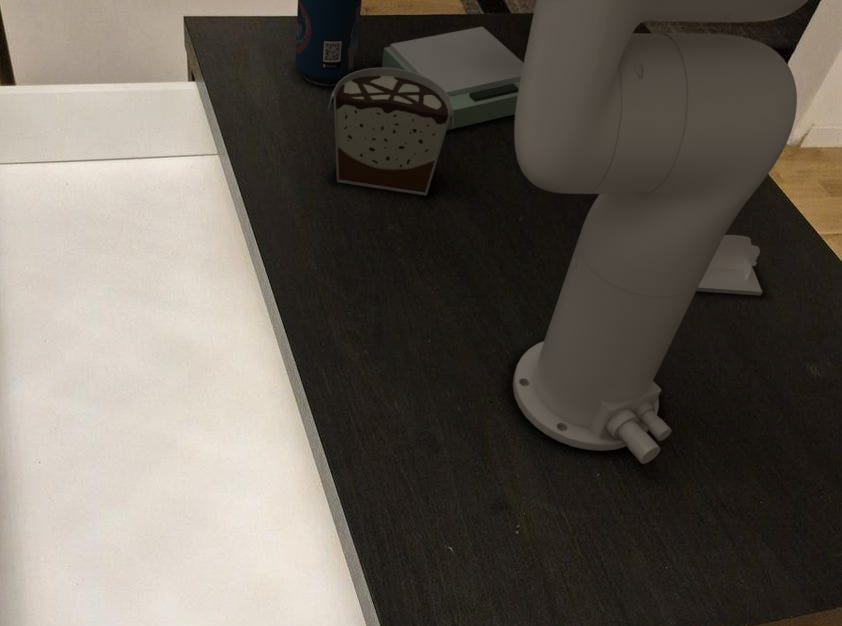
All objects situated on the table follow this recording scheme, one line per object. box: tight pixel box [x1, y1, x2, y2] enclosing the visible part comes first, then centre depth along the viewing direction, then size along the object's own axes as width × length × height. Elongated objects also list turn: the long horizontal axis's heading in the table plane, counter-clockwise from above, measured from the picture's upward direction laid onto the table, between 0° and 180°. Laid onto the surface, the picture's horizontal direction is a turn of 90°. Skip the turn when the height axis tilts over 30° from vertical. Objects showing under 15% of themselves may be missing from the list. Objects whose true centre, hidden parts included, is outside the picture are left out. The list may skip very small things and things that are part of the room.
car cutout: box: [696, 234, 763, 296], centre depth 93 cm, size 15×7×4 cm, turn 92°
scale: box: [381, 26, 524, 131], centre depth 110 cm, size 14×14×3 cm
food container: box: [326, 67, 455, 196], centre depth 96 cm, size 12×6×10 cm, turn 84°
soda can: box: [295, 0, 362, 87], centre depth 105 cm, size 7×7×12 cm
